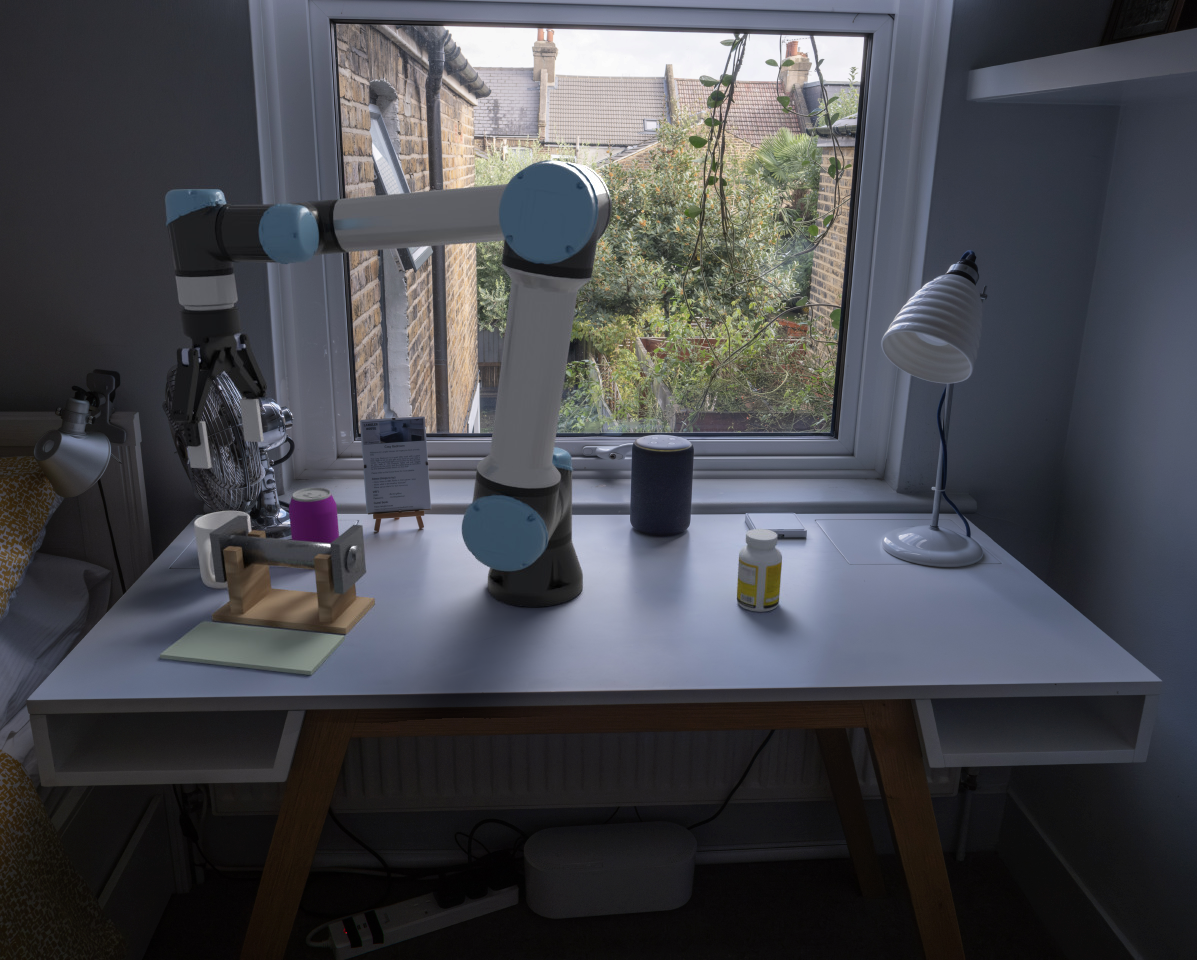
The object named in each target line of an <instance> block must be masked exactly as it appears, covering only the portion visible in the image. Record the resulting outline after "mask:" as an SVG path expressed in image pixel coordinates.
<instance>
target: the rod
mask: <svg viewBox="0 0 1197 960" xmlns="http://www.w3.org/2000/svg"><path fill="white" fill-rule="evenodd" d="M248 533H249V530H248V521H247V516H239V515H238V516H237V517H235V518H233V519H232V520H230V521H229V522H227V523H225V524H224V525H222V526H221V527H219V528H217V529H216V530H214V531H213V532H211V533H209V535H210V542H211V550H212V558H213V565H214V573H215V580H216V582H221V583H225V582H226V581H227V576H226V568H225V561H224V553H223V550H224V549H225V548H227V547H228V546H233V547H242V555H243V563H247V564H258V565H269V567H271V566H273V567H281V568H291V569H292V568H293V569H305V570H313V571H315V567H314V557H316V556H317V555H318V554H325V555H331V559H332V570H333V582H334V593H337V594H344V593H345V592H346V591H347V590H349V589H350V588H351V587H352V586H353V585H354V584H355V585H356V583H357V582H359V580H360V579H361V578H362V577H363V576H364V575H365V574H367V568H366V555H365V554H366V553H365V552H366V551H365V540H364V527H363V525H362V524H361V525H360V524H352V525H351V526H350V527H349V528H348V529H346V531H344V532H342V534H339V537H338V538H337V539H335V540H334V541H333V542H332V543H321V542H309V541H297V540H292V539H282V538H273V537H271V538H270V537H266V538H262V537H250V536H248Z"/></svg>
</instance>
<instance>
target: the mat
mask: <svg viewBox="0 0 1197 960" xmlns="http://www.w3.org/2000/svg"><path fill="white" fill-rule="evenodd" d="M345 640H346V637H345V635H344V634H341V635H340V634H334V633H332V634H331V633H324V632H314V631H312V632H311V631H305V630H295V629H285V628H276V627H266V626H263V627H262V626H256V625H246V624H237V623H227V622H217V621H215V622H214V621H208V620H207V621H204V620H202V621H201V622H200V623H199V624H197V625H196V626H194V627H193V628H192V629H191V630H190V631H188V632H187V633H185V634H184V635H183V636H182V637H180V638H179V639H178V640H177V641H175V642H174V643H173V644H172V645H170V646H169V647H168V648H166V649H164V651H162V652H161V653H160V654H159V658H160V659H161V660H163V659H164V660H173V661H179V662H180V661H182V662H189V663H191V662H192V663H199V664H200V663H202V664H210V665H215V666H216V665H218V666H224V667H225V666H227V667H235V668H236V667H237V668H242V669H243V668H244V669H253V670H254V669H255V670H262V671H263V670H264V671H270V672H271V671H272V672H281V673H289V674H297V675H307V676H312V675H313V674H314V673H315V672H316V671H317V670H318V669H319V668H320V667H321V665H323V663H324V662H326V661H327V660H328V658H329V657H330V656H331V655H332V654H333V653H334V652H335V651H336V649H337V648H338V647H340V646H341V645H342V644H343V642H345Z"/></svg>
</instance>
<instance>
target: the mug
mask: <svg viewBox="0 0 1197 960" xmlns="http://www.w3.org/2000/svg"><path fill="white" fill-rule="evenodd" d="M238 515H239V516H247V521H248V530H249V532H251V531H252V523H251V516H250V514H248V513H247V512H244V511H241V510H240V511H239V510H238V511H237V510H222V511H216V512H211V513H207V514H205V515H201V516H200V517H198V518H196V519H195V520H194V522H193V528H194V534H195V541H196V542H195V543H196V549H197V557H198V563H199V570H200V571H199V572H200V577H201V581H202V582H203V584H204V585H205V586H207V587H208V588H211V589H217V590H221V589H222V590H226V589H228V584H227V581H226V582H225V583H221V582H216V580H215V573H214V565H213V558H212V550H211V542H210V535H209V533H211V532H213V531H214V530H216V529H217V528H219V527H221V526H222V525H224V524H225V523H227V522H229V521H230V520H232V519H233V518H235V517H237V516H238Z"/></svg>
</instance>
